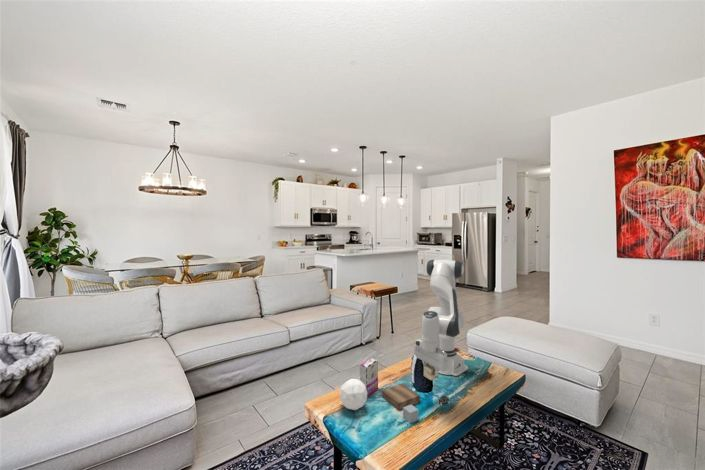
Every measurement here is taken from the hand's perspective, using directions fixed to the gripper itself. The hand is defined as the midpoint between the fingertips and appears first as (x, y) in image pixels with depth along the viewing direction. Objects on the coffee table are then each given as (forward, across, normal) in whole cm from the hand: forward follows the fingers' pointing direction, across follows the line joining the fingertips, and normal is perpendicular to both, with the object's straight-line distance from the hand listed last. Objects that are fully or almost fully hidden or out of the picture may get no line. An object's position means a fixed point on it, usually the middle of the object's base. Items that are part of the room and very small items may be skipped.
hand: (431, 372), depth 149 cm
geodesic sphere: (+18, +19, +34) cm, 43 cm away
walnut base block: (+19, +14, +8) cm, 25 cm away
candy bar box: (+18, +29, +18) cm, 39 cm away
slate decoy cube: (+18, -1, +14) cm, 23 cm away
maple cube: (+2, 0, 0) cm, 2 cm away
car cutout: (+19, -1, -13) cm, 23 cm away
